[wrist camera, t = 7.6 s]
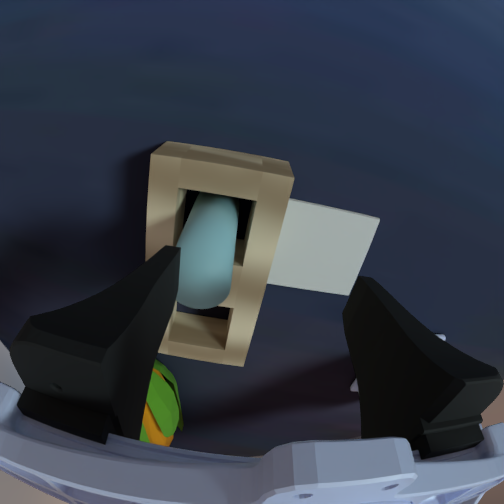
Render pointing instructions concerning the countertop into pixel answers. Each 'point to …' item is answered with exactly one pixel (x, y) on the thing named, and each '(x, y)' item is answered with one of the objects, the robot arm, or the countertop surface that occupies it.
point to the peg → (208, 251)
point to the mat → (321, 247)
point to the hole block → (246, 251)
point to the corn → (161, 408)
